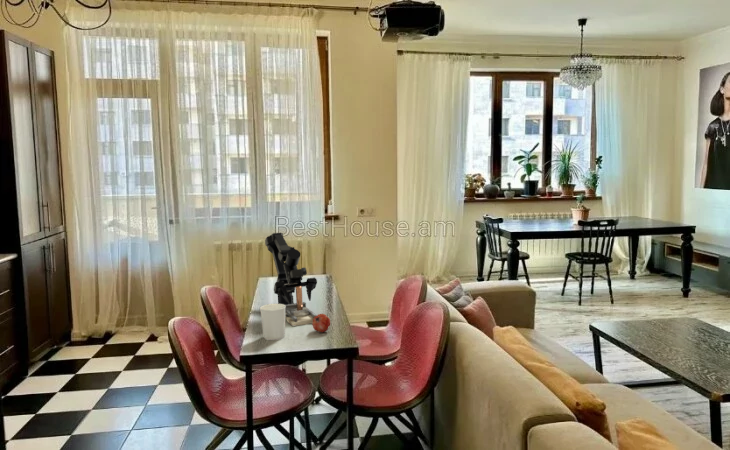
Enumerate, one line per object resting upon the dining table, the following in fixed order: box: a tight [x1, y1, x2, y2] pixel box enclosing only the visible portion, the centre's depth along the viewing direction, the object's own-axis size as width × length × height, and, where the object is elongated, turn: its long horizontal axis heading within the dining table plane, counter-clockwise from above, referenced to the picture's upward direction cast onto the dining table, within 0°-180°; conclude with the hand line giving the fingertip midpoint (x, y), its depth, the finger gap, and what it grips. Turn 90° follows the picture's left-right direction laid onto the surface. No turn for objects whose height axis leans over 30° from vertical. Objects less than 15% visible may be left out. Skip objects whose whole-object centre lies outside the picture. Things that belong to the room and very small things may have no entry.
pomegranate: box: [311, 313, 331, 333], centre depth 203 cm, size 7×7×10 cm
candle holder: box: [259, 303, 286, 341], centre depth 198 cm, size 10×10×12 cm
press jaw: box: [291, 286, 310, 317], centre depth 221 cm, size 4×7×13 cm, turn 114°
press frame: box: [285, 301, 318, 327], centre depth 222 cm, size 18×12×4 cm, turn 24°
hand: (299, 301), depth 221 cm, fingers open, 9 cm apart
